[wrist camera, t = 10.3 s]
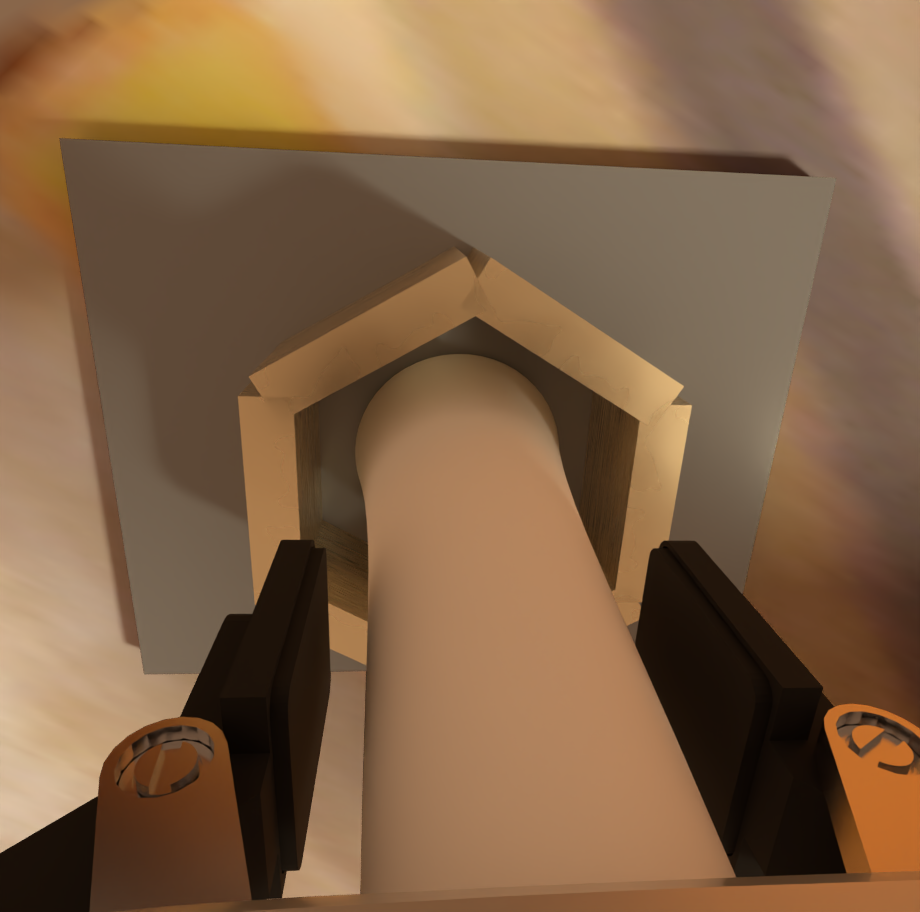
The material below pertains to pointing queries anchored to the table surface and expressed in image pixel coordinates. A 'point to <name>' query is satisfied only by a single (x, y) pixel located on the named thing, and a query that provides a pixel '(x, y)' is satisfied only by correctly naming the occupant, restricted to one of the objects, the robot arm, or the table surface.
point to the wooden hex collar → (406, 328)
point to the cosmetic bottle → (502, 660)
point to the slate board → (374, 265)
